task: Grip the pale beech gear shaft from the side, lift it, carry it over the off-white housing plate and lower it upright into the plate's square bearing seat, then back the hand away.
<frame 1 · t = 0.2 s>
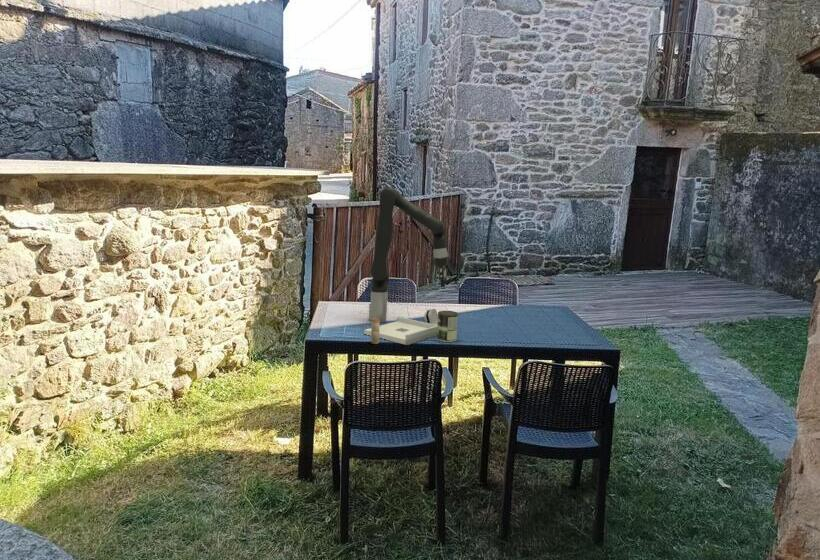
hand: (443, 285, 350), 23 cm above the table, tool pointing down, fingers open, 8 cm apart
hinge: (432, 325, 355), on the table
gear shaft: (374, 342, 314), on the table
coffee can: (446, 339, 325), on the table
housing: (402, 334, 331), on the table
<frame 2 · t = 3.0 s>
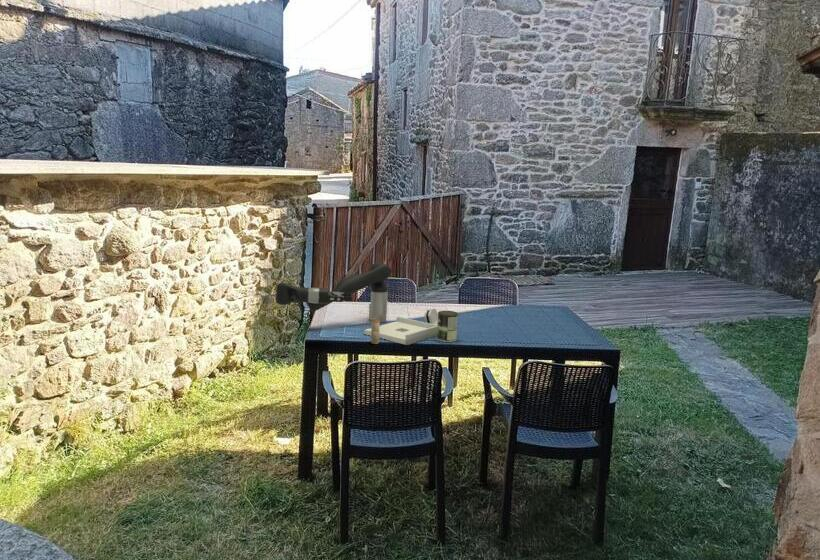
hand: (351, 297, 308), 23 cm above the table, tool horizontal, fingers open, 8 cm apart
nothing on the table moved.
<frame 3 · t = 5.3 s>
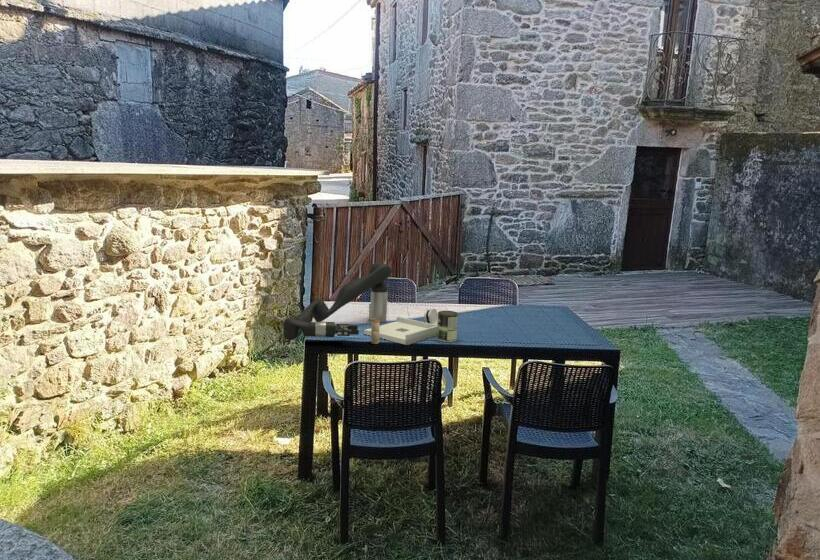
hand: (358, 330, 311), 7 cm above the table, tool horizontal, fingers open, 8 cm apart
nothing on the table moved.
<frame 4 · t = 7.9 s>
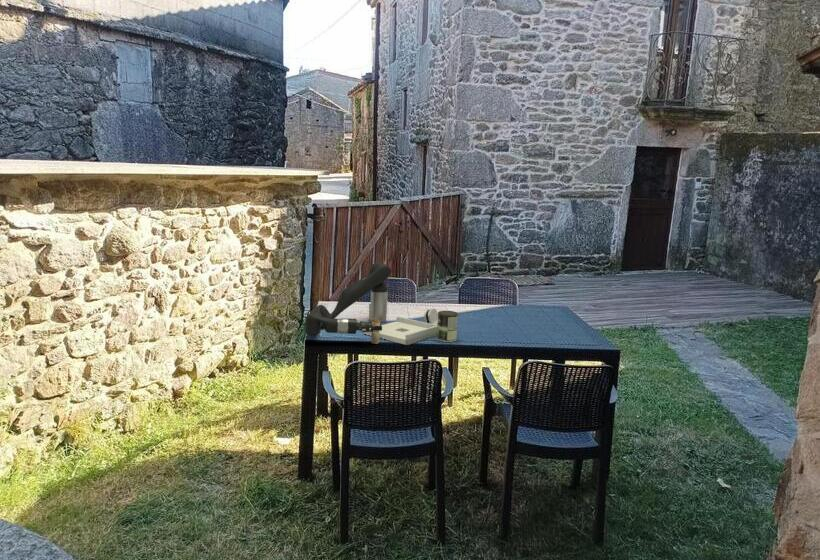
hand: (381, 327, 313), 8 cm above the table, tool horizontal, fingers closed on gear shaft, 4 cm apart
gear shaft: (374, 342, 314), on the table, touching gripper
everything else where it was.
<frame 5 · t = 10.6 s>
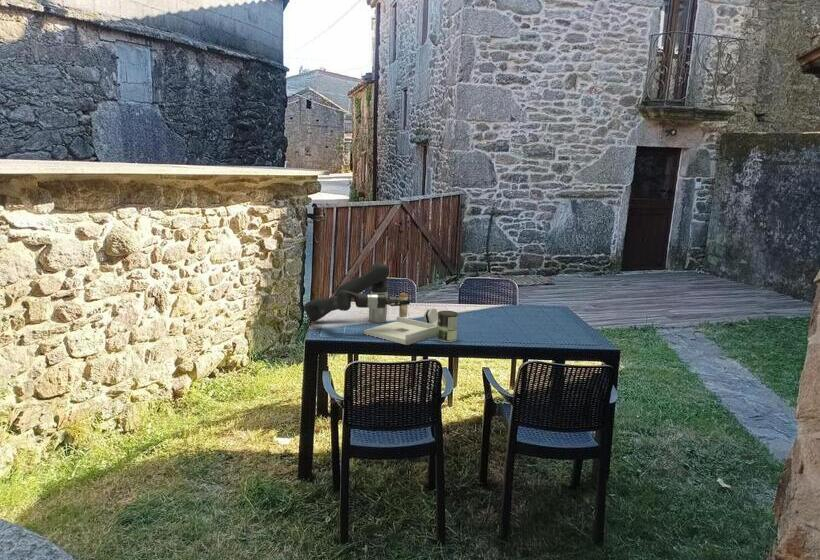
hand: (408, 301, 328), 18 cm above the table, tool horizontal, fingers closed on gear shaft, 4 cm apart
gear shaft: (403, 316, 330), point 10 cm above the table, touching gripper
everything else where it was.
when the fingers open (8 cm above the table, at t = 13.3 s): gear shaft stays where it is, resting in housing.
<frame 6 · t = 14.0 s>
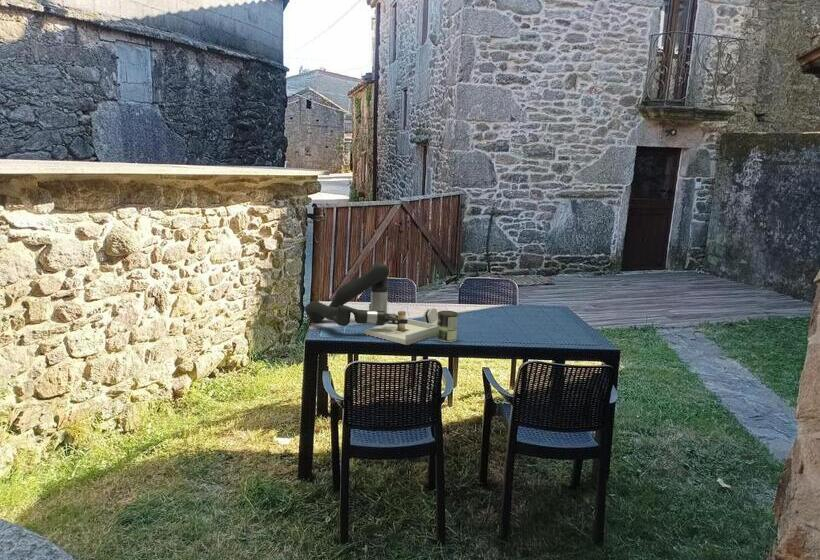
hand: (405, 319, 330), 8 cm above the table, tool horizontal, fingers open, 8 cm apart
gear shaft: (400, 334, 332), resting in housing
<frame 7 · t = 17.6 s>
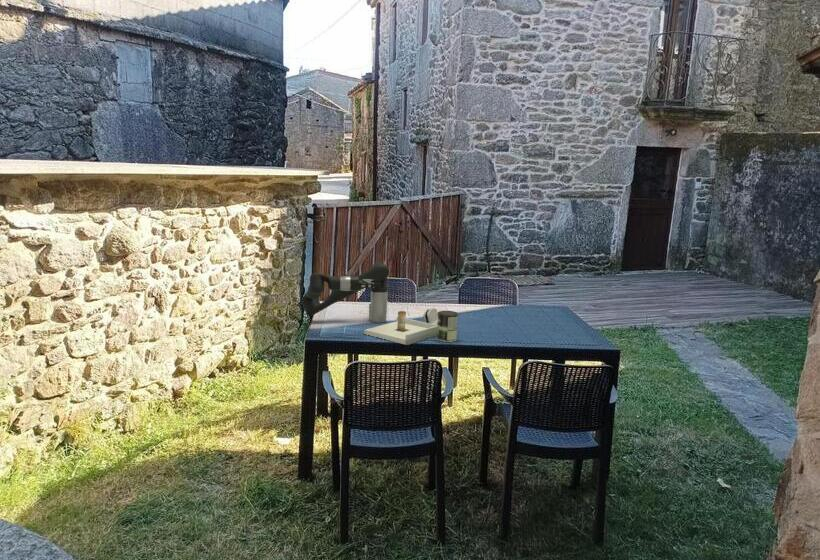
hand: (381, 283, 324), 27 cm above the table, tool horizontal, fingers open, 8 cm apart
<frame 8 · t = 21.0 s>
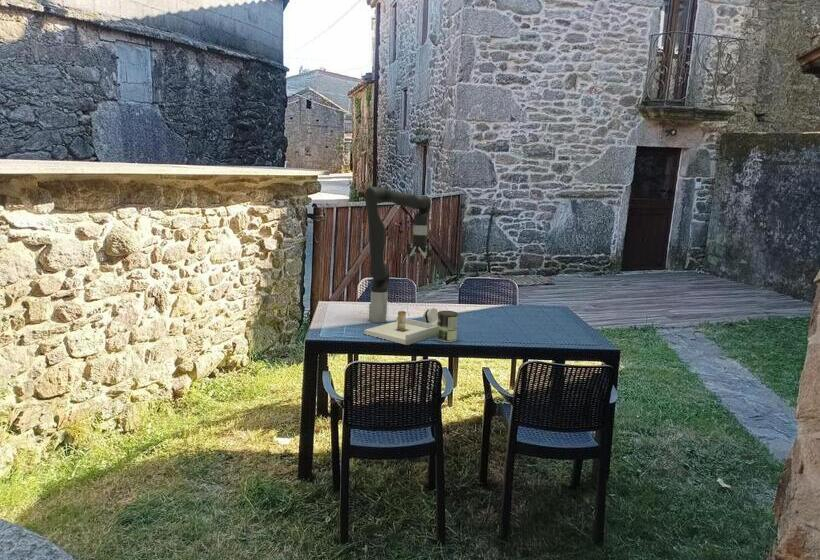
hand: (418, 264, 334), 36 cm above the table, tool pointing down, fingers open, 8 cm apart
at the end: gear shaft 0.9 cm off-centre on the housing, point 0.0 cm above the housing's base; gear shaft tilted 0°; the gripper is holding nothing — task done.
